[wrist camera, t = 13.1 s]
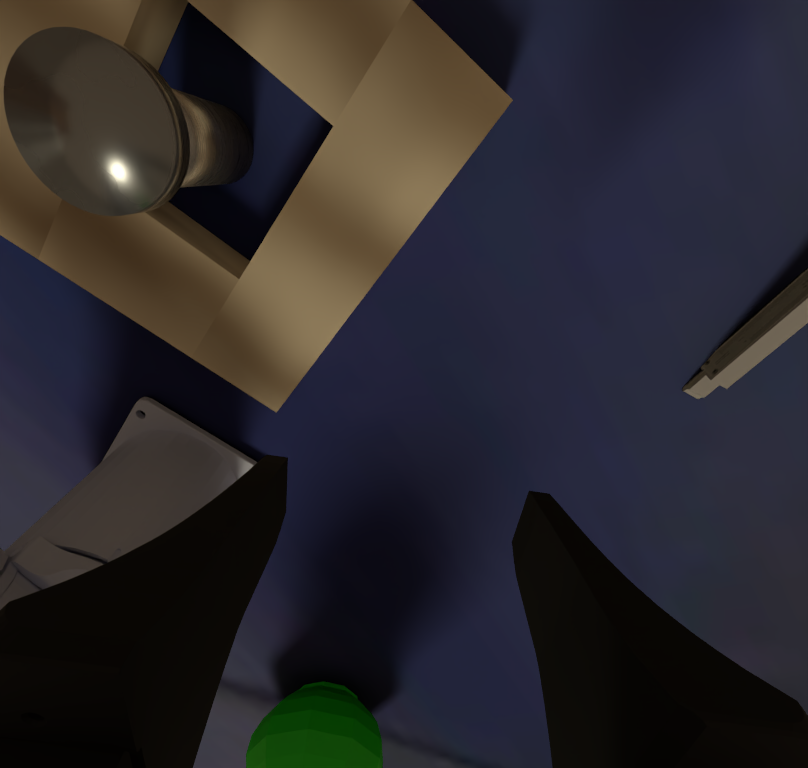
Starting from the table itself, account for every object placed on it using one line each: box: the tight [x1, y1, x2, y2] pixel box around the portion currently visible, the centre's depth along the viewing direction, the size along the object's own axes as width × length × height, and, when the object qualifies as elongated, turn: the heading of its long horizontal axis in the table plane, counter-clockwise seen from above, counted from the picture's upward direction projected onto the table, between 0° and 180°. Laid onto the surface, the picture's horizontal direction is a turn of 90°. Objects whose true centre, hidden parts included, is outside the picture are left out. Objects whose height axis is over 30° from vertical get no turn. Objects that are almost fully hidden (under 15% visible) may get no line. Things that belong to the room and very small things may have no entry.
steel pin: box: [3, 27, 253, 216], centre depth 15 cm, size 4×4×8 cm
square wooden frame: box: [0, 0, 512, 412], centre depth 17 cm, size 16×16×2 cm
